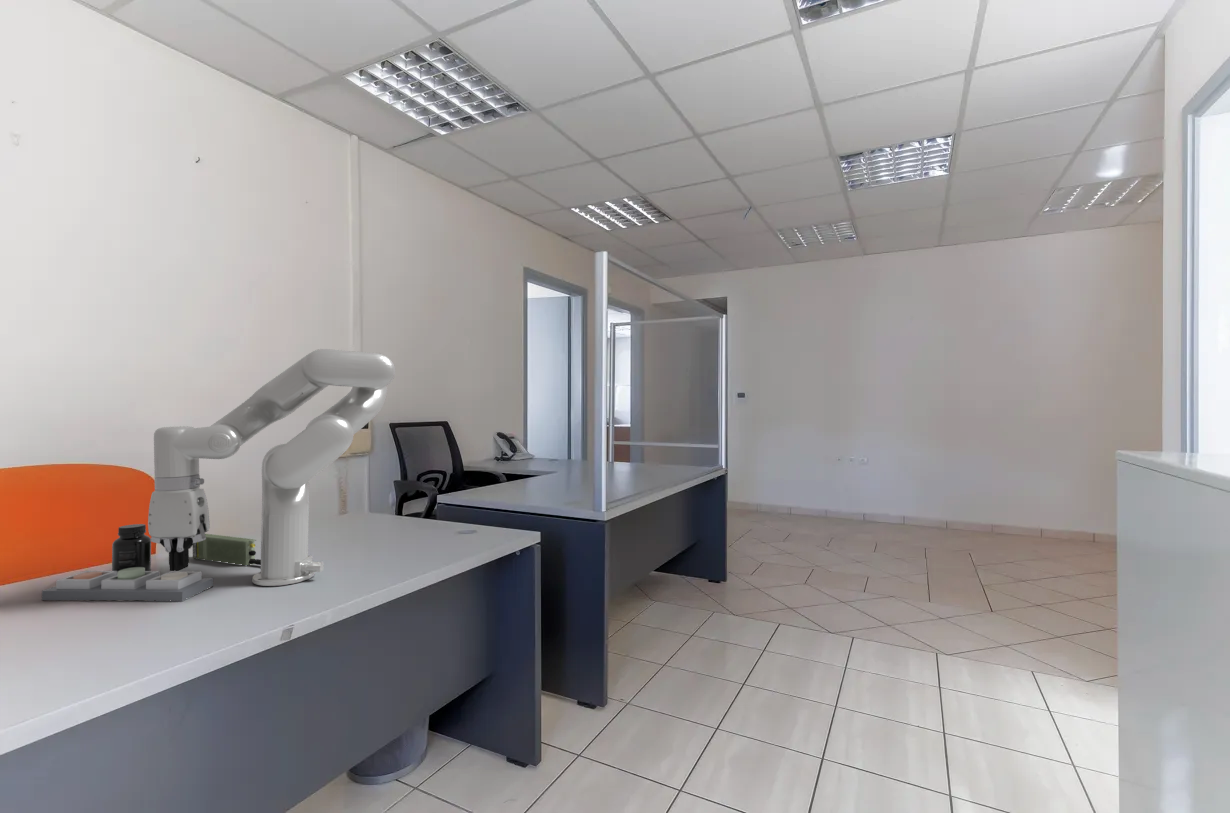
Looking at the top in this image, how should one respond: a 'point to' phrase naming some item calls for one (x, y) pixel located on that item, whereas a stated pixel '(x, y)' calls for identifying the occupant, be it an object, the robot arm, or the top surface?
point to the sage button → (131, 573)
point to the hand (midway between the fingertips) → (179, 568)
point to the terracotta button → (87, 575)
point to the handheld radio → (226, 549)
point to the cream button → (174, 576)
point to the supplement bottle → (131, 548)
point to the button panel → (128, 587)
